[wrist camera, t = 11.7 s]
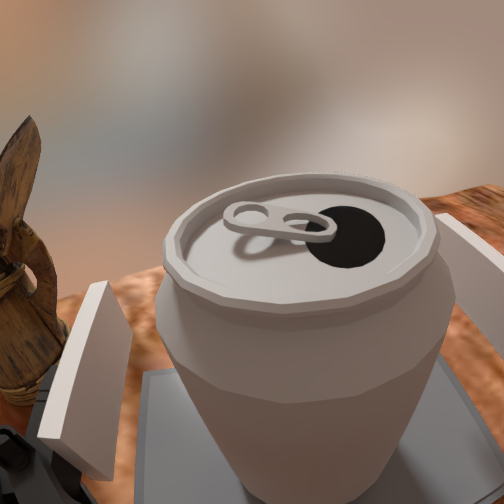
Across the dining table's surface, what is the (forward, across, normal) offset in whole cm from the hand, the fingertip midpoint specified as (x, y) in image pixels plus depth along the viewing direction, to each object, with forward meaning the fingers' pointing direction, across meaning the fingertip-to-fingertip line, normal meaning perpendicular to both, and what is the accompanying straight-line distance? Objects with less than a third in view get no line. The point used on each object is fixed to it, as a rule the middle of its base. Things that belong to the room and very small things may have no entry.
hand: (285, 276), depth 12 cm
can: (-3, 0, -8) cm, 9 cm away
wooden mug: (+7, -18, -10) cm, 22 cm away
